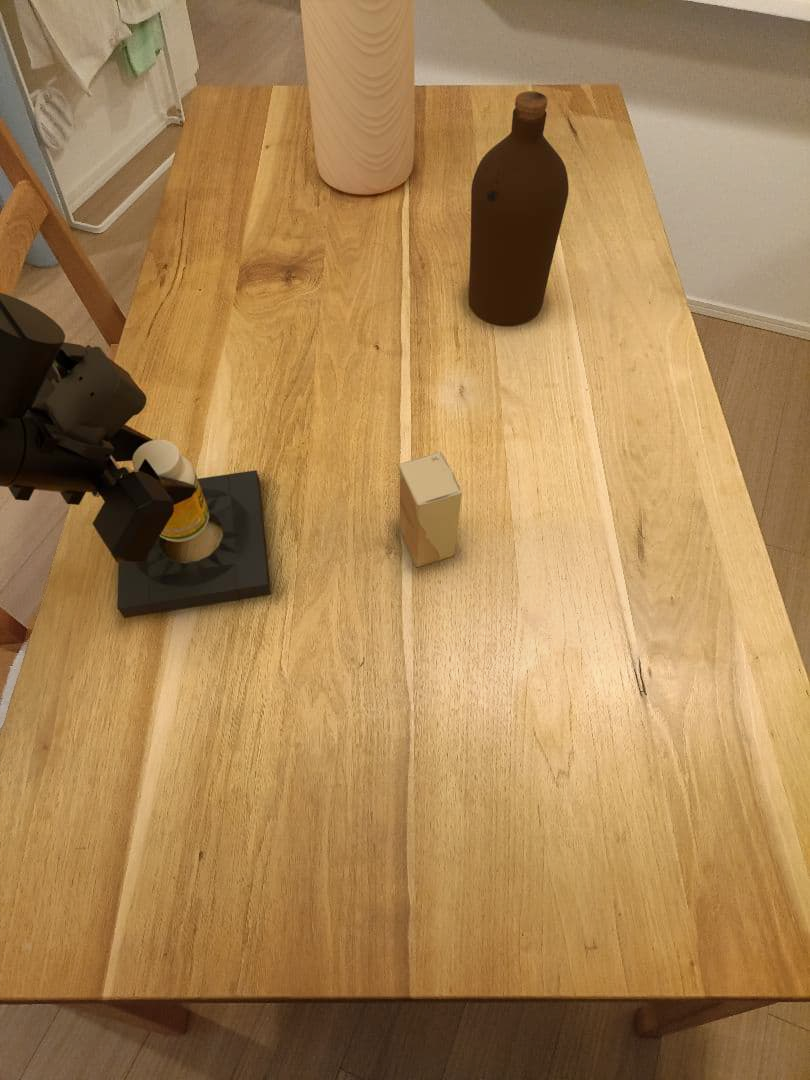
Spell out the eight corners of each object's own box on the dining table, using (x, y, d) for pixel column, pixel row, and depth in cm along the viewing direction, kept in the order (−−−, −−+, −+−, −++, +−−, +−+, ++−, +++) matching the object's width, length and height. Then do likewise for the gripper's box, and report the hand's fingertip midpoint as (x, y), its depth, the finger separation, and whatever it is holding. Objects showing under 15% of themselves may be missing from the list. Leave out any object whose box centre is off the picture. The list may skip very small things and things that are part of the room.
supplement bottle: (145, 513, 74) (114, 447, 66) (197, 490, 75) (173, 423, 67) (166, 553, 71) (136, 490, 63) (219, 528, 73) (197, 464, 65)
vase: (413, 199, 109) (414, -69, 83) (312, 198, 109) (282, -70, 83) (415, 144, 117) (417, -118, 91) (321, 143, 117) (296, -119, 91)
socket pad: (123, 618, 73) (117, 608, 71) (125, 501, 80) (119, 489, 79) (271, 594, 74) (267, 584, 73) (259, 481, 82) (256, 469, 80)
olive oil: (541, 336, 94) (580, 133, 73) (456, 323, 95) (469, 120, 74) (551, 280, 99) (590, 77, 79) (471, 269, 101) (487, 67, 80)
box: (398, 529, 78) (396, 460, 69) (437, 517, 79) (441, 447, 70) (416, 570, 76) (417, 504, 66) (457, 557, 76) (463, 490, 67)
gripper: (108, 437, 48) (280, 466, 61) (-1, 283, 57) (171, 337, 70) (38, 566, 52) (213, 568, 65) (-55, 405, 61) (117, 435, 74)
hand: (178, 471), depth 68 cm, fingers closed on supplement bottle, 5 cm apart
